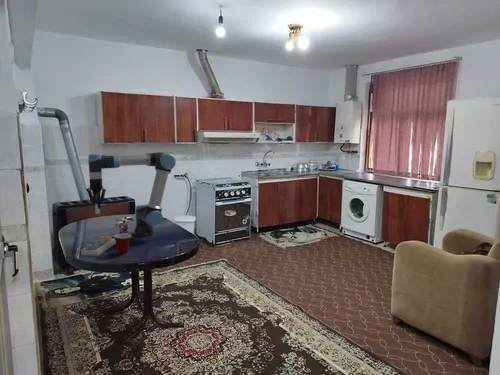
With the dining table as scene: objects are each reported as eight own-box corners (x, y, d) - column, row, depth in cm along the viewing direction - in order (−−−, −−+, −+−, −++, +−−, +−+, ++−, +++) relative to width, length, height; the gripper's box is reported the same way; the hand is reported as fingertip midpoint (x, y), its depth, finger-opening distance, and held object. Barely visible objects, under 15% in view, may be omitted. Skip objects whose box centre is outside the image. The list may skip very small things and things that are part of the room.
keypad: (116, 243, 244) (115, 238, 243) (97, 255, 219) (97, 250, 218) (101, 242, 244) (100, 237, 244) (81, 254, 220) (80, 249, 219)
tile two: (105, 242, 234) (105, 239, 233) (101, 245, 228) (101, 241, 228) (97, 242, 234) (97, 238, 234) (92, 244, 228) (92, 241, 228)
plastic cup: (135, 252, 226) (134, 235, 224) (120, 256, 218) (119, 238, 216) (126, 248, 233) (126, 231, 231) (111, 252, 225) (110, 235, 223)
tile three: (99, 246, 226) (99, 242, 226) (94, 249, 220) (94, 245, 220) (90, 245, 226) (90, 242, 226) (85, 248, 220) (85, 245, 220)
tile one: (111, 238, 242) (111, 235, 241) (107, 241, 236) (107, 238, 235) (103, 238, 242) (102, 235, 242) (98, 241, 236) (98, 237, 236)
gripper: (108, 177, 227) (109, 212, 231) (89, 177, 228) (91, 211, 232) (102, 179, 220) (104, 215, 224) (82, 178, 221) (85, 214, 225)
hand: (97, 213), depth 228 cm, fingers closed
